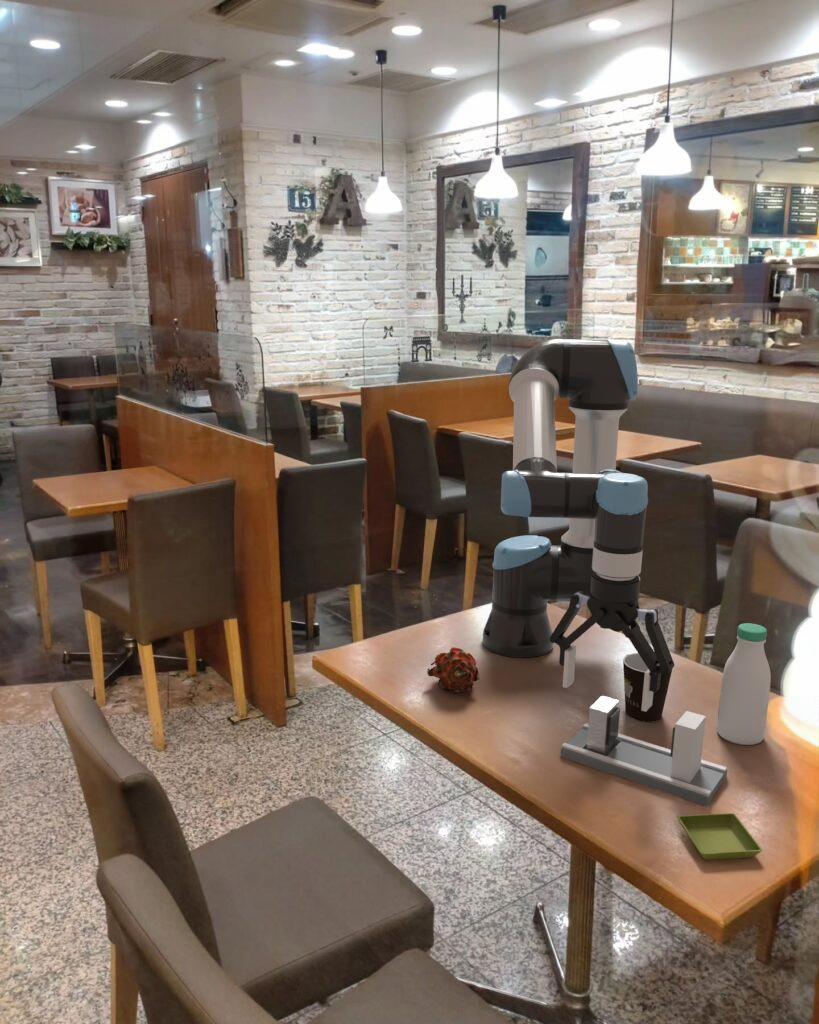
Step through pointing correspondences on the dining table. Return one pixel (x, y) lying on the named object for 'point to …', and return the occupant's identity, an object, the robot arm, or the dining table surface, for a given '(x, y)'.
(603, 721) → the block
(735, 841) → the green square tray
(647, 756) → the rail
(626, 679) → the coffee mug
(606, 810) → the dining table surface
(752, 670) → the milk bottle
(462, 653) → the dragon fruit
